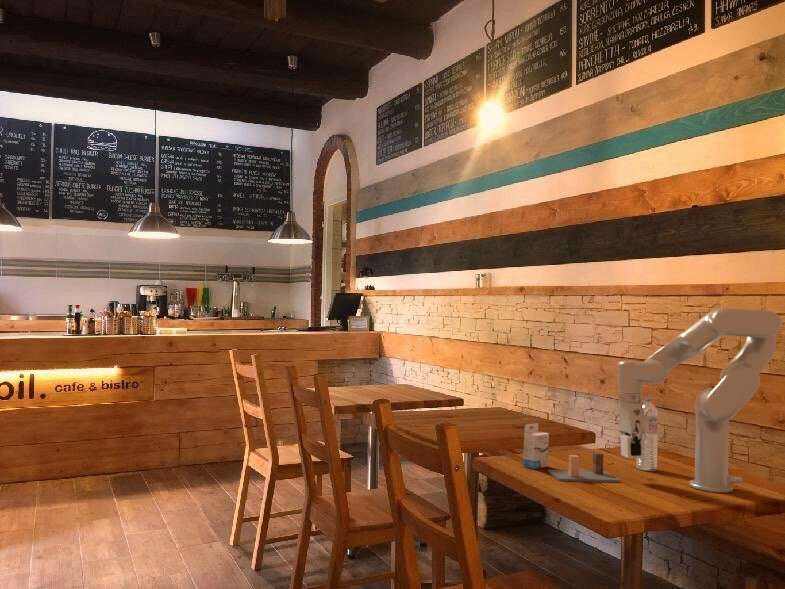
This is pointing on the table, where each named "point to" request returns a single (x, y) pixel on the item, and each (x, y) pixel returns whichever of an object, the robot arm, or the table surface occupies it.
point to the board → (584, 476)
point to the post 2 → (597, 463)
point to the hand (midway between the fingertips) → (632, 453)
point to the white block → (629, 447)
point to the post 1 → (573, 466)
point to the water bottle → (649, 438)
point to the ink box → (535, 447)
